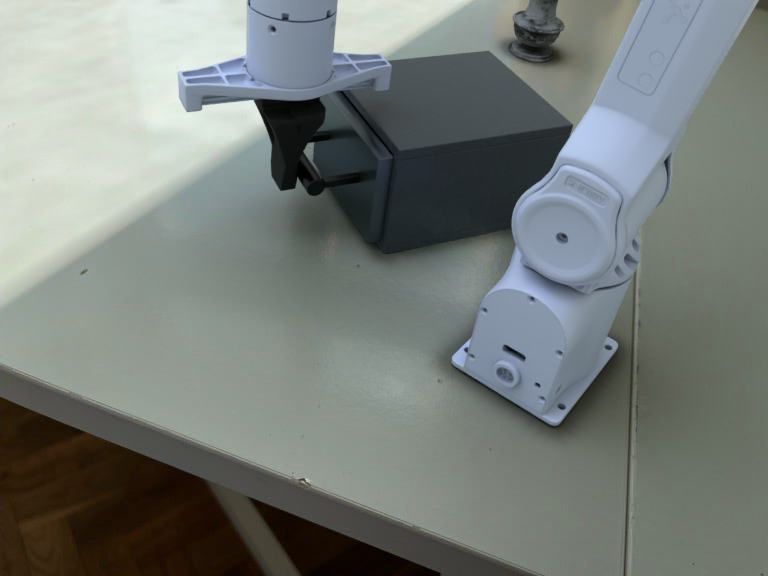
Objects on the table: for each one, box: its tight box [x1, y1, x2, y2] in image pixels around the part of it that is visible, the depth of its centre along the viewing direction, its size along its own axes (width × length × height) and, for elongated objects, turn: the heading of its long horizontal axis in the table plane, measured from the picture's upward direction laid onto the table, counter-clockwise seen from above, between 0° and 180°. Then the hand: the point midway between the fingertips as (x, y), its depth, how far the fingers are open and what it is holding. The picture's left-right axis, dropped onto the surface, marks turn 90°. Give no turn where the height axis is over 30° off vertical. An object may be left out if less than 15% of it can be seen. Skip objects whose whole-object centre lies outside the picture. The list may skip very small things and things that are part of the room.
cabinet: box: [341, 50, 574, 255], centre depth 63 cm, size 15×13×9 cm
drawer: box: [297, 91, 394, 244], centre depth 61 cm, size 18×11×7 cm, turn 115°
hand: (284, 182), depth 59 cm, fingers closed, pressing on drawer
